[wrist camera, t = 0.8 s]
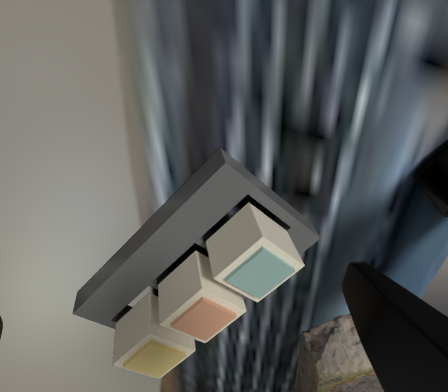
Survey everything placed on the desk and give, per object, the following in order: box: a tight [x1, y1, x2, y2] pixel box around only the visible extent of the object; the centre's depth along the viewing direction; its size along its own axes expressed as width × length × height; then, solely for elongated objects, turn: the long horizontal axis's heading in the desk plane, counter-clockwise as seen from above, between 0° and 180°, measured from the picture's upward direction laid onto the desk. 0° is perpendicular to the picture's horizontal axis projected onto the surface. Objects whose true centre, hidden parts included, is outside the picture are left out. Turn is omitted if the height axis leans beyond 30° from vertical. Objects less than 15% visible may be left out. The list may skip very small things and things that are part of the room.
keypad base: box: [73, 148, 320, 329], centre depth 25 cm, size 10×16×2 cm, turn 135°
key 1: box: [206, 202, 305, 302], centre depth 21 cm, size 4×4×4 cm
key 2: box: [158, 251, 246, 343], centre depth 23 cm, size 4×4×4 cm
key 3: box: [112, 293, 196, 379], centre depth 24 cm, size 4×4×4 cm
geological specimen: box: [294, 314, 384, 392], centre depth 37 cm, size 11×6×15 cm
